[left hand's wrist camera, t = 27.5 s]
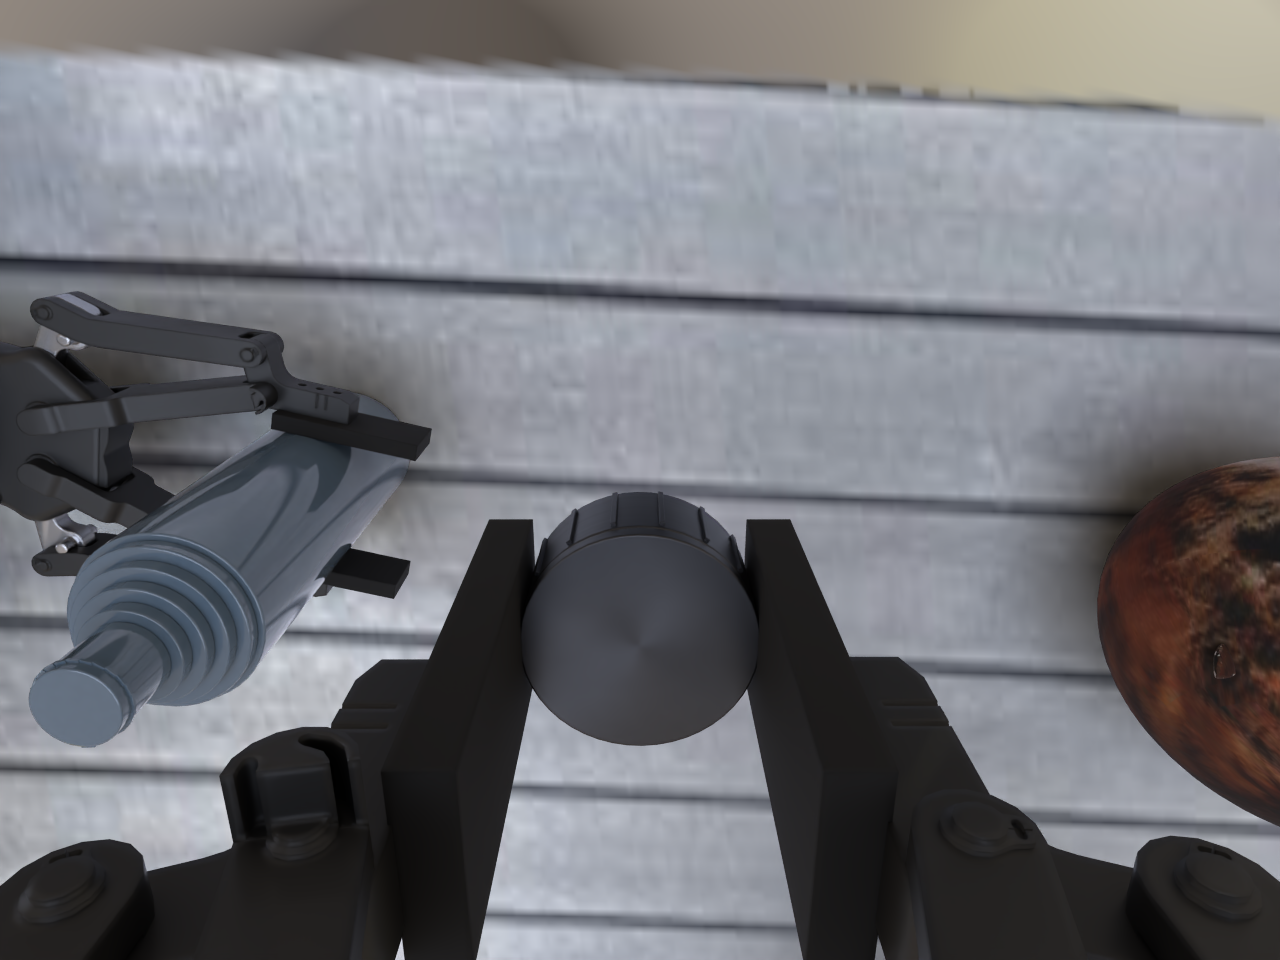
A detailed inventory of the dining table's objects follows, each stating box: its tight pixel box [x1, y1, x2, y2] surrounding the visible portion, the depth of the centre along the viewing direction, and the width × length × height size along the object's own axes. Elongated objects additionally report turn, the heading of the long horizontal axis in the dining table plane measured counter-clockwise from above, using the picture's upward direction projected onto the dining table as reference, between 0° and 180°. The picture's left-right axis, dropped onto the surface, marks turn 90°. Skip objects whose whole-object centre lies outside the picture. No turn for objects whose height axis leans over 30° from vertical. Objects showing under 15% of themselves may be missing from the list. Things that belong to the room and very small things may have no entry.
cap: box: [520, 492, 759, 746], centre depth 14 cm, size 4×4×2 cm
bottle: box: [29, 392, 410, 748], centre depth 35 cm, size 6×6×24 cm
